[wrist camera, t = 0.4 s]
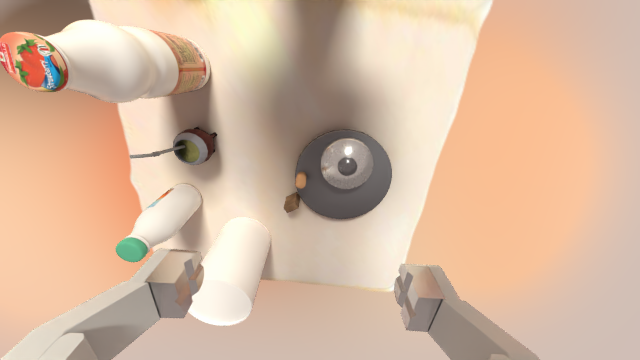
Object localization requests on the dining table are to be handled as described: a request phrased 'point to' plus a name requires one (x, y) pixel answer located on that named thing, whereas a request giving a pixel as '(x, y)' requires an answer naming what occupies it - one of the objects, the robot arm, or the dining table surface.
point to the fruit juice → (106, 61)
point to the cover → (346, 162)
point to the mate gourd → (189, 147)
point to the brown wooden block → (292, 202)
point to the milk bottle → (160, 221)
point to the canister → (232, 273)
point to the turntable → (336, 199)
